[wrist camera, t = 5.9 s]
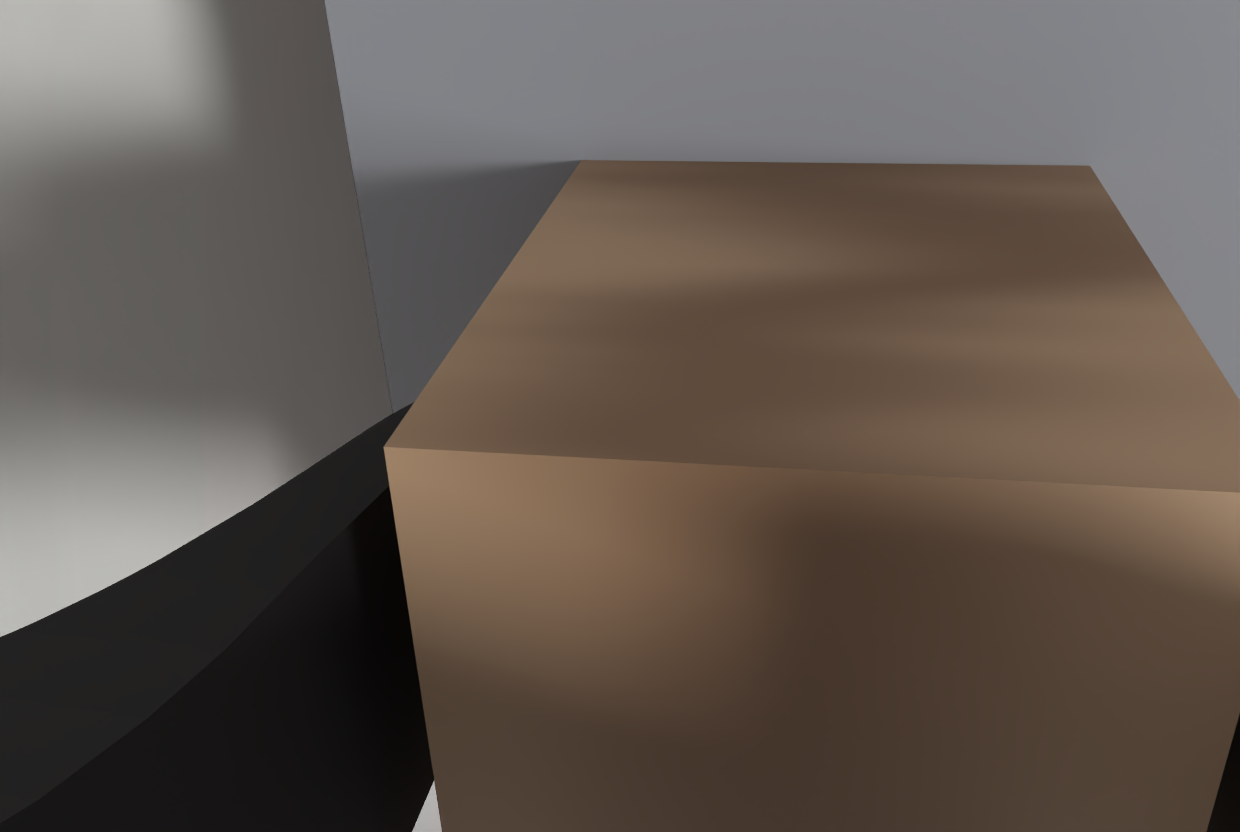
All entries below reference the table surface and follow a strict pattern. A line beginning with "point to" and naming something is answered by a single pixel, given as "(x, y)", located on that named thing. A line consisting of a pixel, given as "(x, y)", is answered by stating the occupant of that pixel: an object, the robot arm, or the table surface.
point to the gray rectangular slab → (772, 122)
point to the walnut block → (825, 513)
